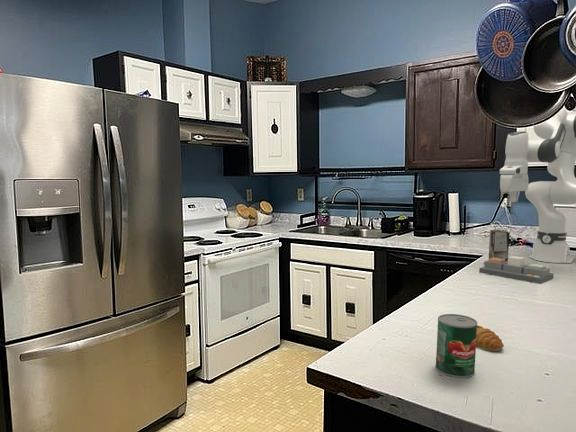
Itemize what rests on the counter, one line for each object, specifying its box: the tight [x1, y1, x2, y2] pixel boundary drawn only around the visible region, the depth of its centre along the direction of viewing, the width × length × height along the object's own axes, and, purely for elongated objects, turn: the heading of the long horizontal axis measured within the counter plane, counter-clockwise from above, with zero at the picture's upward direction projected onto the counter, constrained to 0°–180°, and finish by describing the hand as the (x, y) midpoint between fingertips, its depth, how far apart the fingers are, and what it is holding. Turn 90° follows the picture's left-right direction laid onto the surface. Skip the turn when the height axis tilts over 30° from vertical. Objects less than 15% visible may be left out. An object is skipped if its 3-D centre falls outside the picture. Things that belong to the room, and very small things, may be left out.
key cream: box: [508, 255, 526, 267], centre depth 179 cm, size 5×5×4 cm
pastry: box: [476, 324, 505, 352], centre depth 106 cm, size 9×7×4 cm
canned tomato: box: [435, 313, 478, 379], centre depth 92 cm, size 8×8×11 cm
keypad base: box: [478, 259, 555, 285], centre depth 180 cm, size 14×24×4 cm, turn 40°
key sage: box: [527, 263, 547, 270], centre depth 173 cm, size 5×5×4 cm
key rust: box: [488, 258, 505, 264], centre depth 186 cm, size 5×5×4 cm
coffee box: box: [488, 229, 510, 262], centre depth 199 cm, size 9×6×16 cm
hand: (514, 202), depth 185 cm, fingers closed
